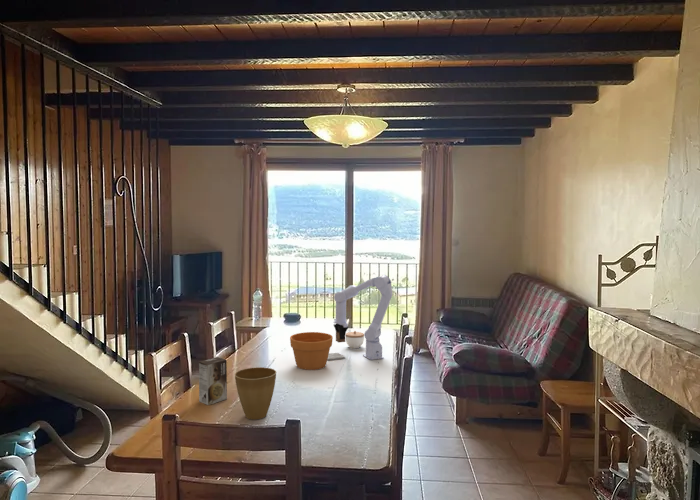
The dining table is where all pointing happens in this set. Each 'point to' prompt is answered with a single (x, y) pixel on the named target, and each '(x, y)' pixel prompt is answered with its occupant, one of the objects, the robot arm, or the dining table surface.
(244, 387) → the plant pot
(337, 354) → the slate tile
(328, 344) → the flower pot
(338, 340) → the walnut block
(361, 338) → the lidded jar
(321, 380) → the dining table surface
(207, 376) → the coffee box
